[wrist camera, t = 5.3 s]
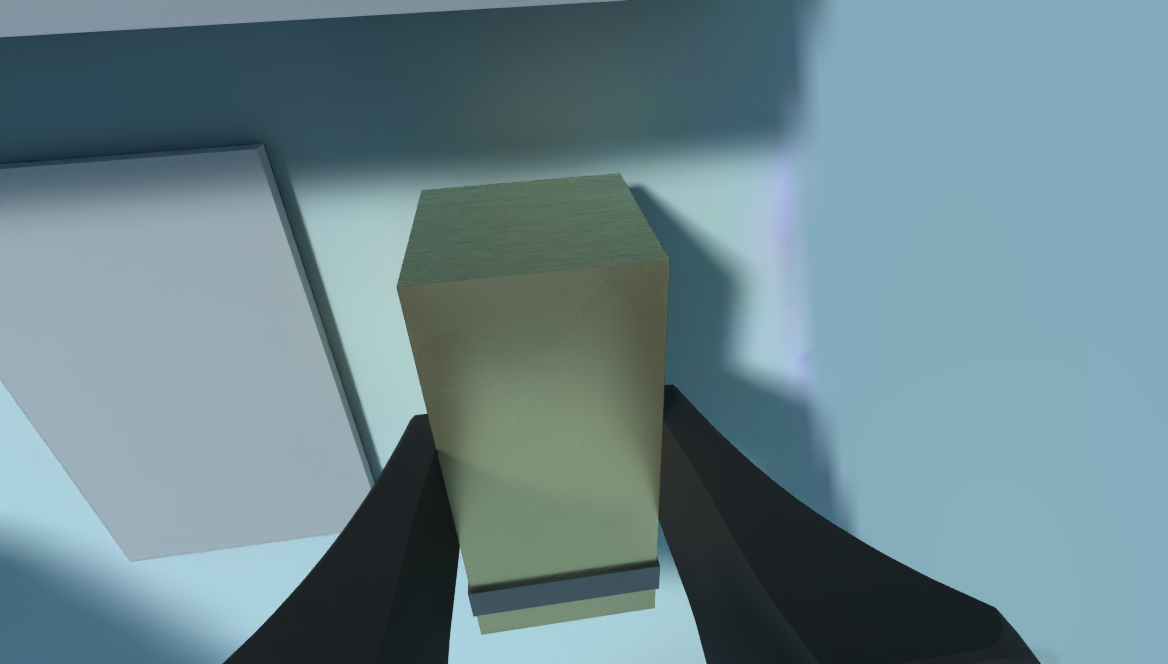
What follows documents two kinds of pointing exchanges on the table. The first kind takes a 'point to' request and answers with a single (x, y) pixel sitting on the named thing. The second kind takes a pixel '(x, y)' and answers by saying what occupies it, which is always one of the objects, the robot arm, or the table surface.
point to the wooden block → (543, 390)
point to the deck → (175, 349)
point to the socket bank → (211, 12)
